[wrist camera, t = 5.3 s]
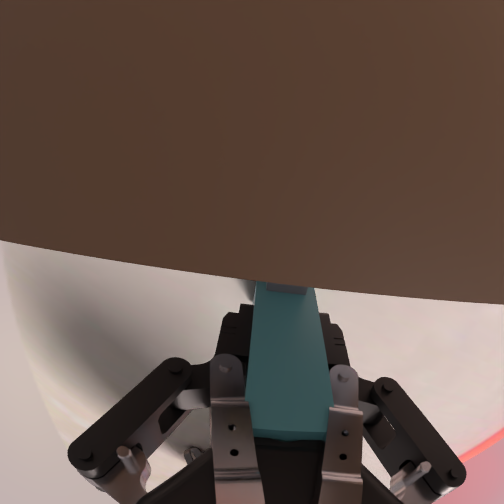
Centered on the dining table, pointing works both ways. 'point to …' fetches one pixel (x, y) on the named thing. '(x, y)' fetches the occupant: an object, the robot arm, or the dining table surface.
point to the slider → (287, 365)
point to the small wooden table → (261, 139)
